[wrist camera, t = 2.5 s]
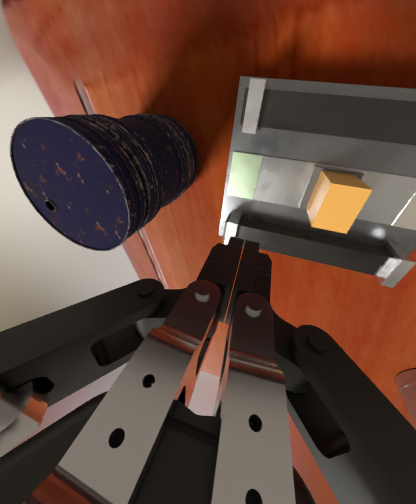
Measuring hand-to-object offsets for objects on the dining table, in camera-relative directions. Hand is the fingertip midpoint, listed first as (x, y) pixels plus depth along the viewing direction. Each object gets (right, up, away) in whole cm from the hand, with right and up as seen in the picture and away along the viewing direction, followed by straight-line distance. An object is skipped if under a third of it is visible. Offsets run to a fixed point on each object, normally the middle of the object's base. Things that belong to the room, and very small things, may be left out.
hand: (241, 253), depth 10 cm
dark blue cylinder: (-8, +13, +16) cm, 21 cm away
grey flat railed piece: (+11, +8, +12) cm, 18 cm away
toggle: (+11, +7, +10) cm, 16 cm away
